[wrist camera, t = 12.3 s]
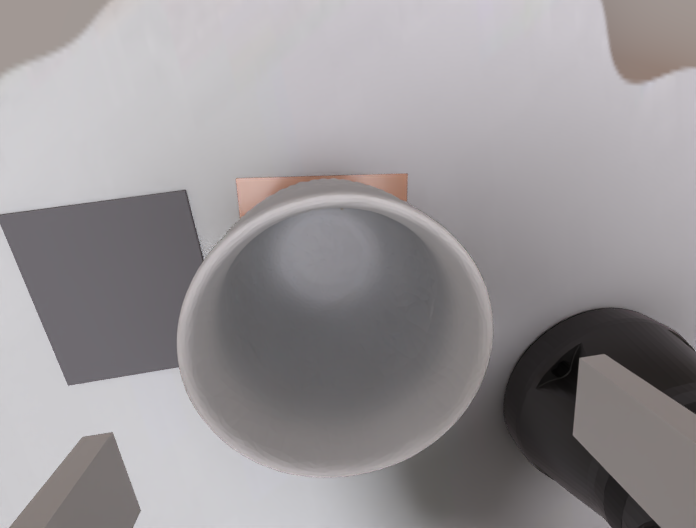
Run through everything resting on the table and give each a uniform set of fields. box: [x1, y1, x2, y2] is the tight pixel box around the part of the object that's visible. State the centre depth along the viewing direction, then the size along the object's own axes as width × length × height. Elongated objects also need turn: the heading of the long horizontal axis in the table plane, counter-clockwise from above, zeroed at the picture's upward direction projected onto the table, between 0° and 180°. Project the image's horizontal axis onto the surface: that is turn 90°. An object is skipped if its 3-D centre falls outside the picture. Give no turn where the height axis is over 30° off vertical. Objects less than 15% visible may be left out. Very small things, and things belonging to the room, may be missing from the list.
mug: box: [177, 178, 493, 477], centre depth 19 cm, size 15×11×13 cm
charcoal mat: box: [0, 190, 204, 386], centre depth 24 cm, size 11×12×1 cm
